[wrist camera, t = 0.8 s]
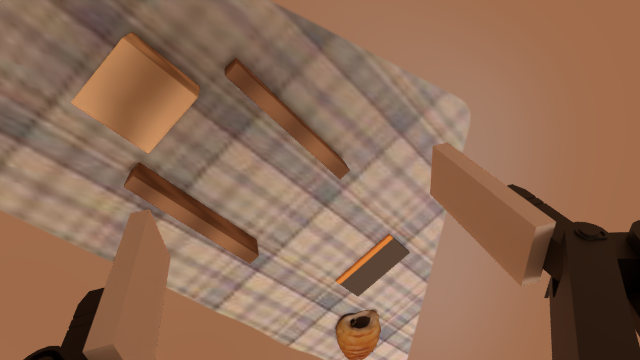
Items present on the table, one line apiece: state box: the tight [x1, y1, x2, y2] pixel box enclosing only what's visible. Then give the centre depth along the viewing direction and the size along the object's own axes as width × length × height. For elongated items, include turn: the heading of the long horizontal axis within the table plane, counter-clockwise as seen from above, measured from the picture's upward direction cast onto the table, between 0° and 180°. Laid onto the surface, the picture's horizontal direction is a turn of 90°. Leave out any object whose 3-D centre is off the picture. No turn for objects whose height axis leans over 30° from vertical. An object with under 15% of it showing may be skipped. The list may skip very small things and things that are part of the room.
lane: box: [123, 58, 350, 264], centre depth 38 cm, size 16×16×3 cm
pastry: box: [336, 310, 381, 360], centre depth 56 cm, size 9×7×4 cm
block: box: [71, 32, 200, 154], centre depth 32 cm, size 7×7×4 cm
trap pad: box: [336, 234, 410, 296], centre depth 51 cm, size 5×10×1 cm, turn 133°
